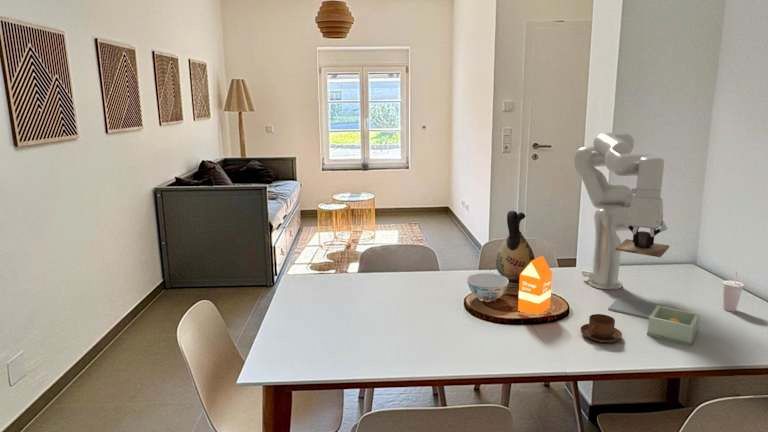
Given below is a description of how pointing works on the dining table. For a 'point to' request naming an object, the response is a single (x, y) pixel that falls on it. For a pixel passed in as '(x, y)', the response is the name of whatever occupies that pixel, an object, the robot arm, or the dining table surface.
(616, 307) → the mat
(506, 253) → the ceramic jug
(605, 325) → the cup and saucer
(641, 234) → the lid
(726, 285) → the smoothie
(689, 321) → the dish
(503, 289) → the chinaware
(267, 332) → the dining table surface
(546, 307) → the orange juice
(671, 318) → the clementine
